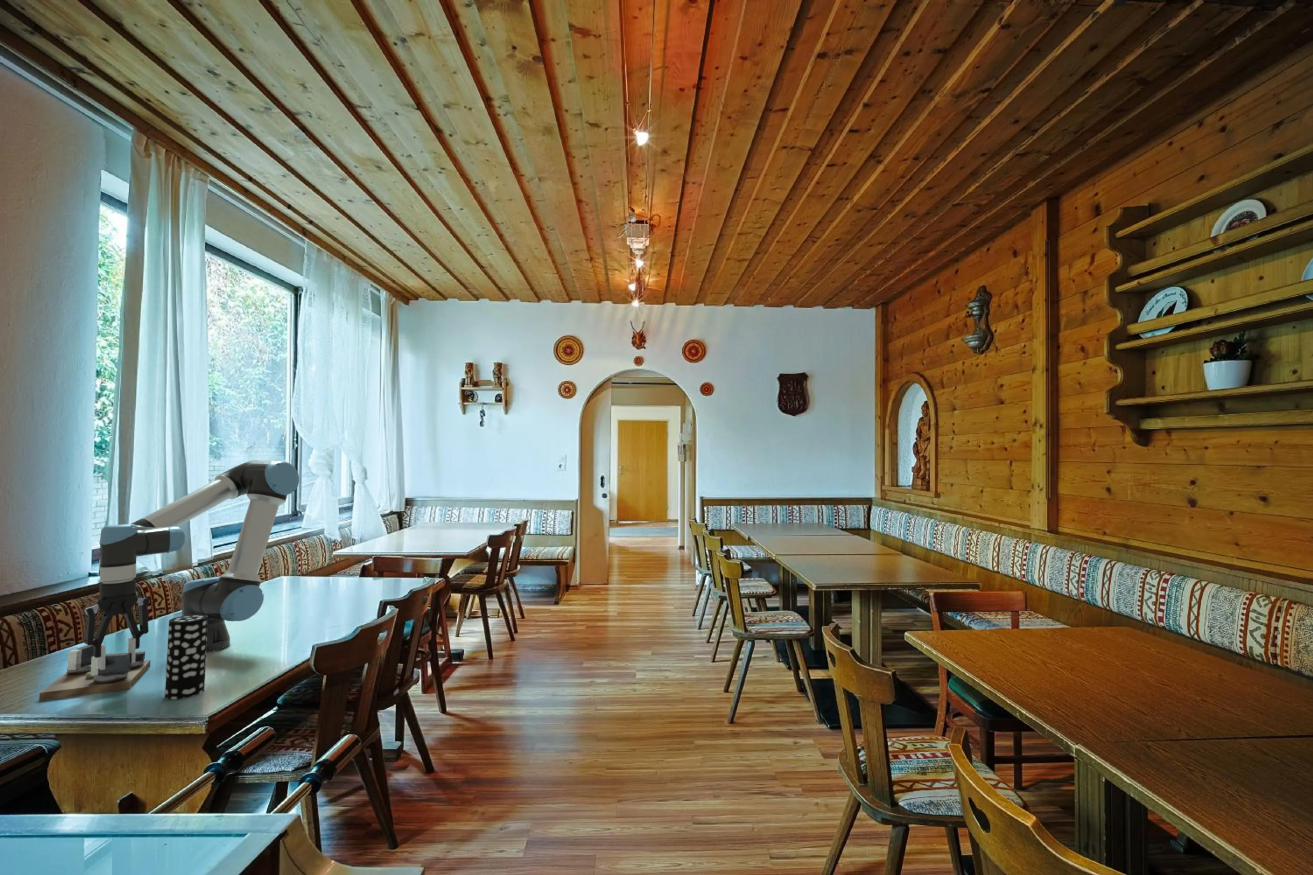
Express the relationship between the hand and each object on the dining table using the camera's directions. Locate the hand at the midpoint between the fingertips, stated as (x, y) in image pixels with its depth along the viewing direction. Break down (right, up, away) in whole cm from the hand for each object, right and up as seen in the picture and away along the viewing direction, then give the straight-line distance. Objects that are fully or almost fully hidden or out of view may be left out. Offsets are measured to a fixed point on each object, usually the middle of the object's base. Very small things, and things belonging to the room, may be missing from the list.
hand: (116, 664), depth 164 cm
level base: (-8, -6, +3) cm, 10 cm away
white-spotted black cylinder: (+22, -6, -4) cm, 23 cm away
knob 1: (-15, -4, +6) cm, 17 cm away
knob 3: (-6, -4, +10) cm, 12 cm away
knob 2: (-1, -4, 0) cm, 4 cm away
